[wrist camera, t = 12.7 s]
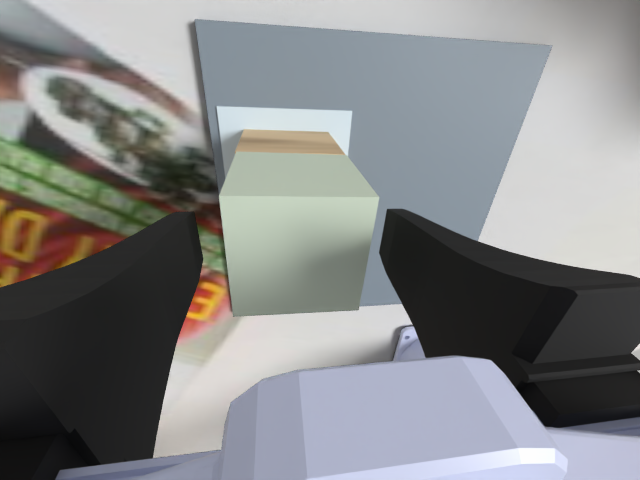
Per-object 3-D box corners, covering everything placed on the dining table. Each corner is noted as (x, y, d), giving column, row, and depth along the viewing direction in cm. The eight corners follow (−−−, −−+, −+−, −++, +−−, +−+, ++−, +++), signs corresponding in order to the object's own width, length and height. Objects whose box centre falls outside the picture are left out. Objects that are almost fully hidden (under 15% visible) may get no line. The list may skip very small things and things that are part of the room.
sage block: (336, 245, 15) (358, 310, 11) (243, 246, 14) (233, 316, 10) (346, 155, 12) (379, 197, 9) (236, 151, 12) (218, 196, 8)
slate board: (452, 297, 25) (455, 301, 25) (235, 310, 23) (235, 315, 22) (546, 45, 16) (553, 45, 15) (196, 20, 13) (194, 18, 13)
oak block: (323, 206, 18) (336, 244, 15) (249, 207, 18) (243, 247, 14) (328, 131, 16) (345, 154, 12) (244, 129, 15) (234, 151, 12)
